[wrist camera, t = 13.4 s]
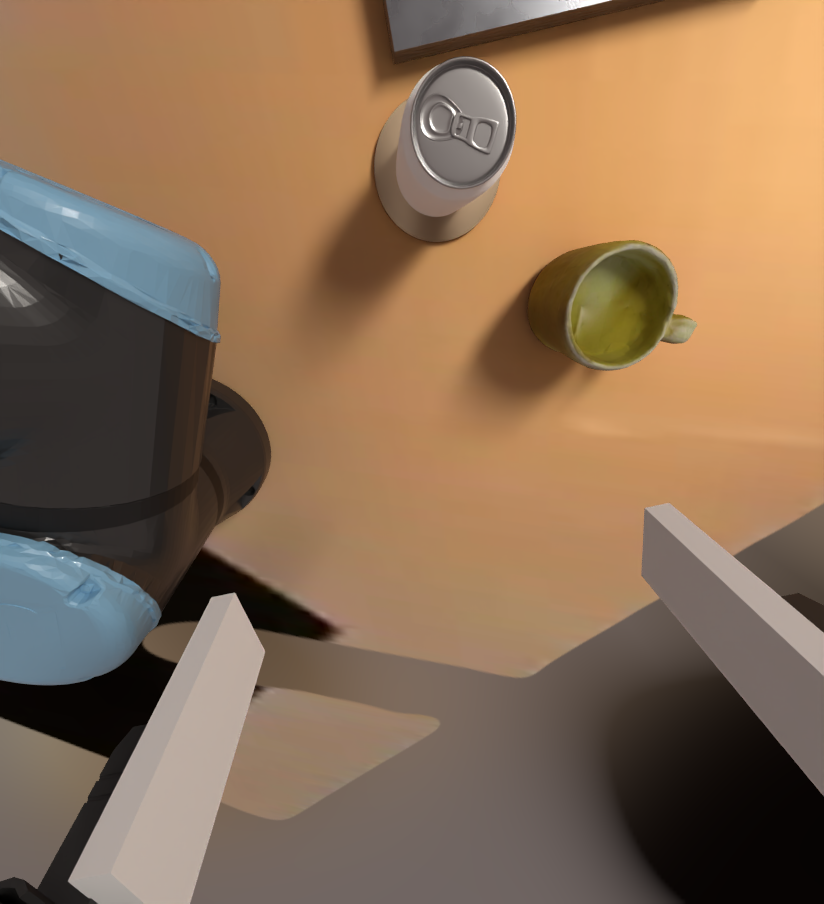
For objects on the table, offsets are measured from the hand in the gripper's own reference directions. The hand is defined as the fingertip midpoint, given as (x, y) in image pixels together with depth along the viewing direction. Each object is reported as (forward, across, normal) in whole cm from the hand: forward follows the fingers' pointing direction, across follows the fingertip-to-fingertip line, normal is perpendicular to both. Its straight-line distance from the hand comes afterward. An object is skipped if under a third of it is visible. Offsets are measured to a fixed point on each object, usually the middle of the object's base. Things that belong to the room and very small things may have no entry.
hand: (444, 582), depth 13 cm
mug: (+29, +18, +2) cm, 34 cm away
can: (+28, +6, +15) cm, 33 cm away
